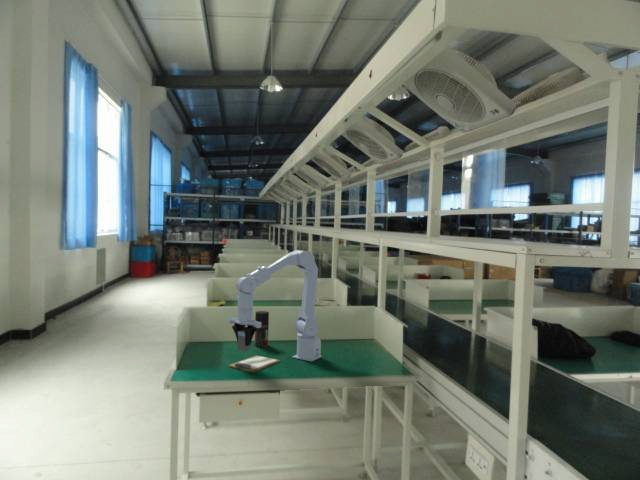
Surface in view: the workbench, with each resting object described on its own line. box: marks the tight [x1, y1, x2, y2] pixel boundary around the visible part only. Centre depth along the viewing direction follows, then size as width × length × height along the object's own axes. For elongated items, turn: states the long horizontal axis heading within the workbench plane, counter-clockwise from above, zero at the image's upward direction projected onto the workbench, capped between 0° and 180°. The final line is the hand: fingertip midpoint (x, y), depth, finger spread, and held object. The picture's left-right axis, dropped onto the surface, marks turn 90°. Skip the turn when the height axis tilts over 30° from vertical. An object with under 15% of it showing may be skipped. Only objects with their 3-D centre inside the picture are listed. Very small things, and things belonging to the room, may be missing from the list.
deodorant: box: [254, 310, 270, 348], centre depth 185 cm, size 6×6×15 cm
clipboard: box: [228, 354, 281, 373], centre depth 157 cm, size 12×16×2 cm
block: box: [237, 330, 252, 352], centre depth 156 cm, size 4×4×7 cm
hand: (244, 344), depth 156 cm, fingers closed on block, 3 cm apart
